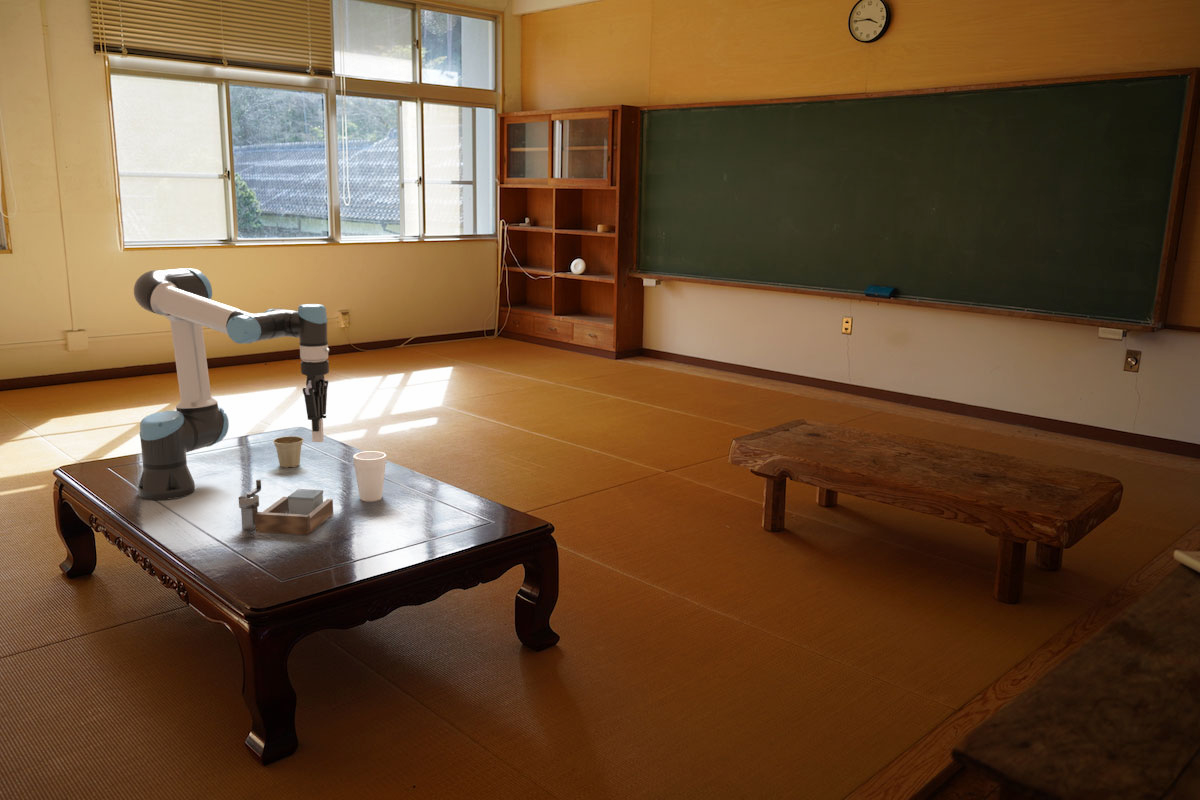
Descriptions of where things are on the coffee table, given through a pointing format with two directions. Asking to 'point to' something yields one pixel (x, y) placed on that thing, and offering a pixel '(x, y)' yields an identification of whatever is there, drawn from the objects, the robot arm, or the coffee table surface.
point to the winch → (249, 507)
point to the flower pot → (288, 450)
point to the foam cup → (370, 474)
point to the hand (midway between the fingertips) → (318, 441)
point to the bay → (291, 518)
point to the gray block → (304, 501)
